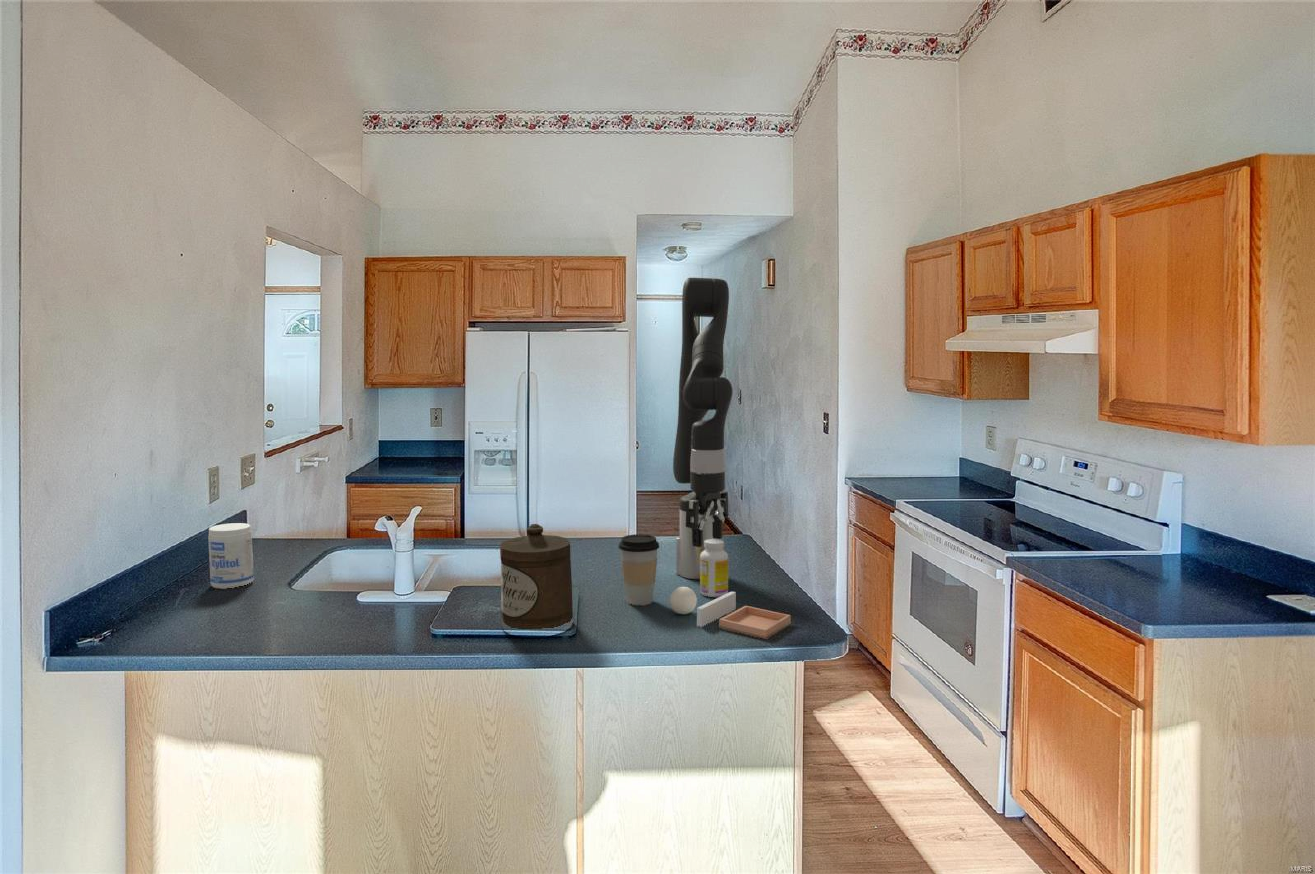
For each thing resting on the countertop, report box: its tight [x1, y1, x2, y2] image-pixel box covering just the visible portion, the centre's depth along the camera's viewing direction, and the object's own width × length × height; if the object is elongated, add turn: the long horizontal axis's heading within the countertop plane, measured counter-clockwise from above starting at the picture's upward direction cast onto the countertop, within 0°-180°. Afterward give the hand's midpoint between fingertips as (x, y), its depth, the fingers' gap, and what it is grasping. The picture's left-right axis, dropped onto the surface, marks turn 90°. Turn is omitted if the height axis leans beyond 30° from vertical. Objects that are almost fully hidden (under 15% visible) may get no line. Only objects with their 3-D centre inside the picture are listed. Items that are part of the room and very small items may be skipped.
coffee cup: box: [617, 533, 660, 606], centre depth 187 cm, size 9×9×15 cm
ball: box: [669, 586, 698, 615], centre depth 179 cm, size 6×6×6 cm
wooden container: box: [499, 523, 574, 629], centre depth 171 cm, size 15×15×22 cm
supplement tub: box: [207, 522, 254, 590], centre depth 202 cm, size 10×10×15 cm
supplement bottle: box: [699, 539, 729, 598], centre depth 193 cm, size 7×7×13 cm
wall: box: [696, 591, 737, 628], centre depth 177 cm, size 1×14×4 cm, turn 144°
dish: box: [718, 605, 792, 640], centre depth 171 cm, size 11×11×2 cm
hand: (707, 542), depth 178 cm, fingers open, 8 cm apart
